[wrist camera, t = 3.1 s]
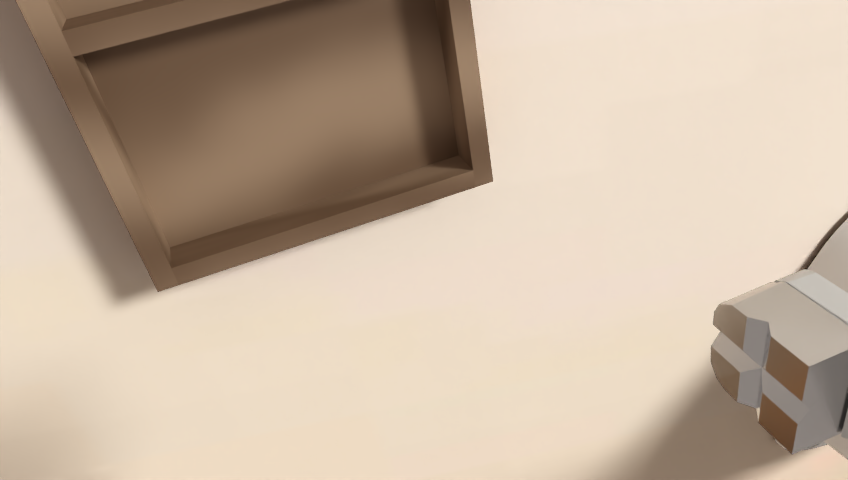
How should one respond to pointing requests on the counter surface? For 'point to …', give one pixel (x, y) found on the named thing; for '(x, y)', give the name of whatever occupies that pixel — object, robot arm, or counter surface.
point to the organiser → (265, 116)
